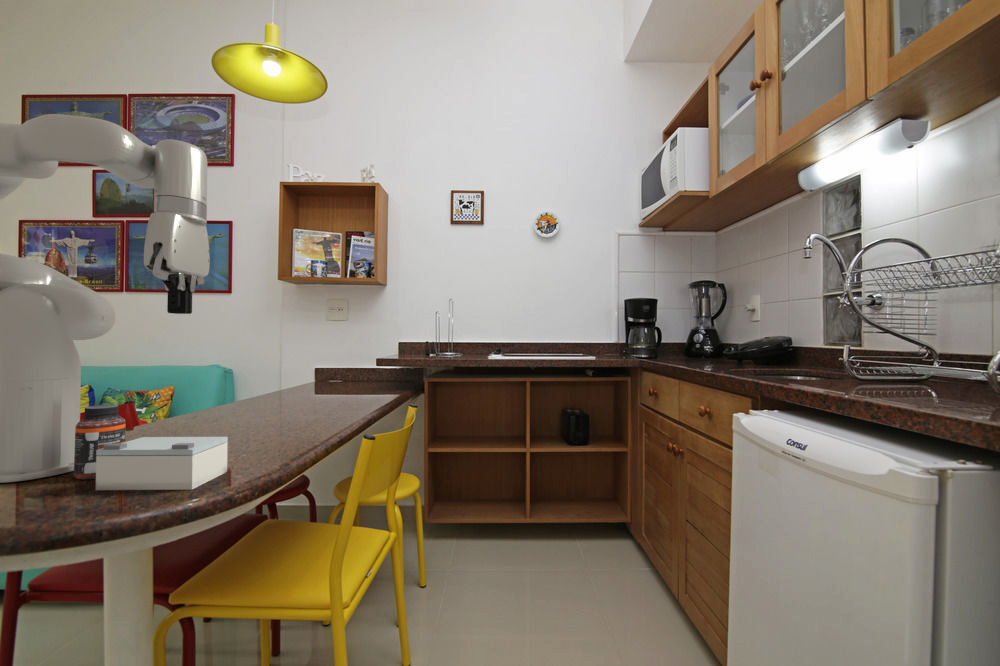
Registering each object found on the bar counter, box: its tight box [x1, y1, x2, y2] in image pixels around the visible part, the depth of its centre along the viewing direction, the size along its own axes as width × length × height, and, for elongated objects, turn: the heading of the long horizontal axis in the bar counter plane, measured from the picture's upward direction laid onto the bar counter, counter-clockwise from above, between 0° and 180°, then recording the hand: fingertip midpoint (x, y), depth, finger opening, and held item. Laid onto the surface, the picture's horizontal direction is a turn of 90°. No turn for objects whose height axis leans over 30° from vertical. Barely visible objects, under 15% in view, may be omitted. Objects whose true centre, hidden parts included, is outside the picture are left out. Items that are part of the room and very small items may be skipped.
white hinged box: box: [95, 441, 229, 491], centre depth 64 cm, size 14×8×5 cm, turn 91°
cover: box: [96, 436, 228, 455], centre depth 64 cm, size 14×8×1 cm, turn 91°
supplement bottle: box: [73, 404, 127, 480], centre depth 66 cm, size 6×6×11 cm
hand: (179, 313), depth 73 cm, fingers closed
